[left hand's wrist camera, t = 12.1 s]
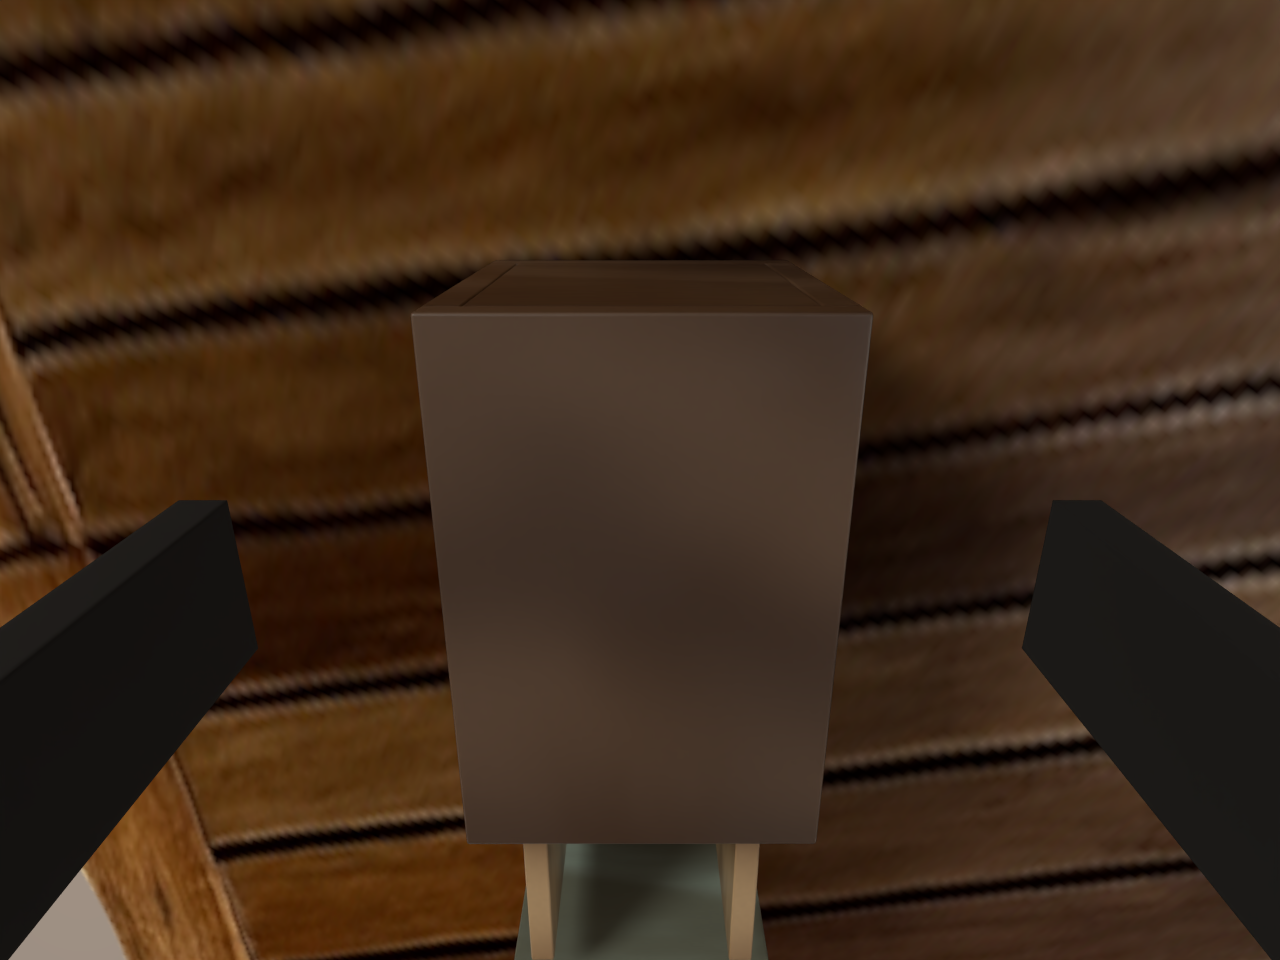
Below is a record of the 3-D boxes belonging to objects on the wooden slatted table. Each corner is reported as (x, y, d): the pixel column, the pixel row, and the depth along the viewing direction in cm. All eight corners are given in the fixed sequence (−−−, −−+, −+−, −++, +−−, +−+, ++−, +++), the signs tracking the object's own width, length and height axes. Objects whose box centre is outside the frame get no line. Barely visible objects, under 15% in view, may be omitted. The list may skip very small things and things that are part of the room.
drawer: (736, 915, 39) (762, 1126, 30) (546, 914, 39) (519, 1126, 30) (759, 536, 31) (804, 674, 23) (523, 536, 31) (479, 675, 23)
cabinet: (762, 639, 34) (816, 845, 24) (519, 639, 34) (466, 845, 24) (788, 260, 28) (874, 312, 18) (494, 260, 28) (409, 312, 18)
